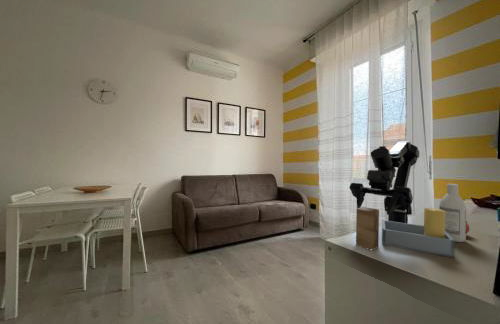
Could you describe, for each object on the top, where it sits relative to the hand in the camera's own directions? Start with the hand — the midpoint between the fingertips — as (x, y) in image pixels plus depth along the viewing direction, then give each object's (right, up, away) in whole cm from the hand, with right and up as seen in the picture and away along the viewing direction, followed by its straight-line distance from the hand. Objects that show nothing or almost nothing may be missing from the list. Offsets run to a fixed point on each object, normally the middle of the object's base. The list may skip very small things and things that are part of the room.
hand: (372, 211), depth 70 cm
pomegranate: (+39, -12, +11) cm, 43 cm away
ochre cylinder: (+17, -11, -5) cm, 20 cm away
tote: (+14, -11, 0) cm, 18 cm away
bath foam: (+32, -12, +5) cm, 35 cm away
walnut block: (-3, -11, -2) cm, 11 cm away
